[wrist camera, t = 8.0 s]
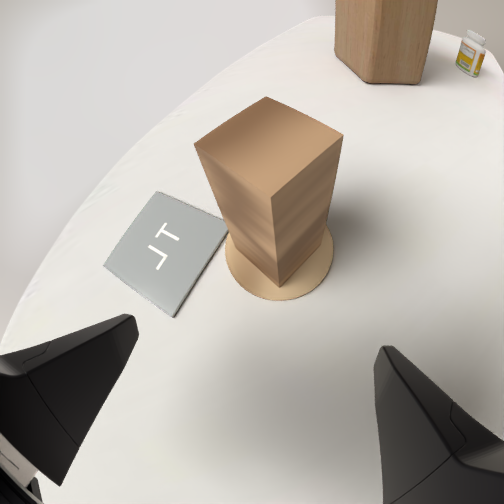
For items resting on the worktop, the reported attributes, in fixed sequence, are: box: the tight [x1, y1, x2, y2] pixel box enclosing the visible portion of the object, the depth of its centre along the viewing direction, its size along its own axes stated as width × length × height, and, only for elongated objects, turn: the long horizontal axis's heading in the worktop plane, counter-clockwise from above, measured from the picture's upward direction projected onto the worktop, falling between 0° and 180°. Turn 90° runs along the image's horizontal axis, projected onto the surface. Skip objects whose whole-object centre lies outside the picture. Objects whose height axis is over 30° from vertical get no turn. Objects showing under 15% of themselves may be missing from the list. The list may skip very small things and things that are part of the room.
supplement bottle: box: [456, 30, 486, 77], centre depth 26 cm, size 5×5×10 cm
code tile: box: [103, 191, 228, 318], centre depth 20 cm, size 8×8×1 cm
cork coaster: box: [225, 225, 333, 301], centre depth 19 cm, size 8×8×1 cm
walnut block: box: [194, 97, 343, 288], centre depth 14 cm, size 4×4×10 cm
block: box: [334, 0, 438, 84], centre depth 20 cm, size 10×10×20 cm
